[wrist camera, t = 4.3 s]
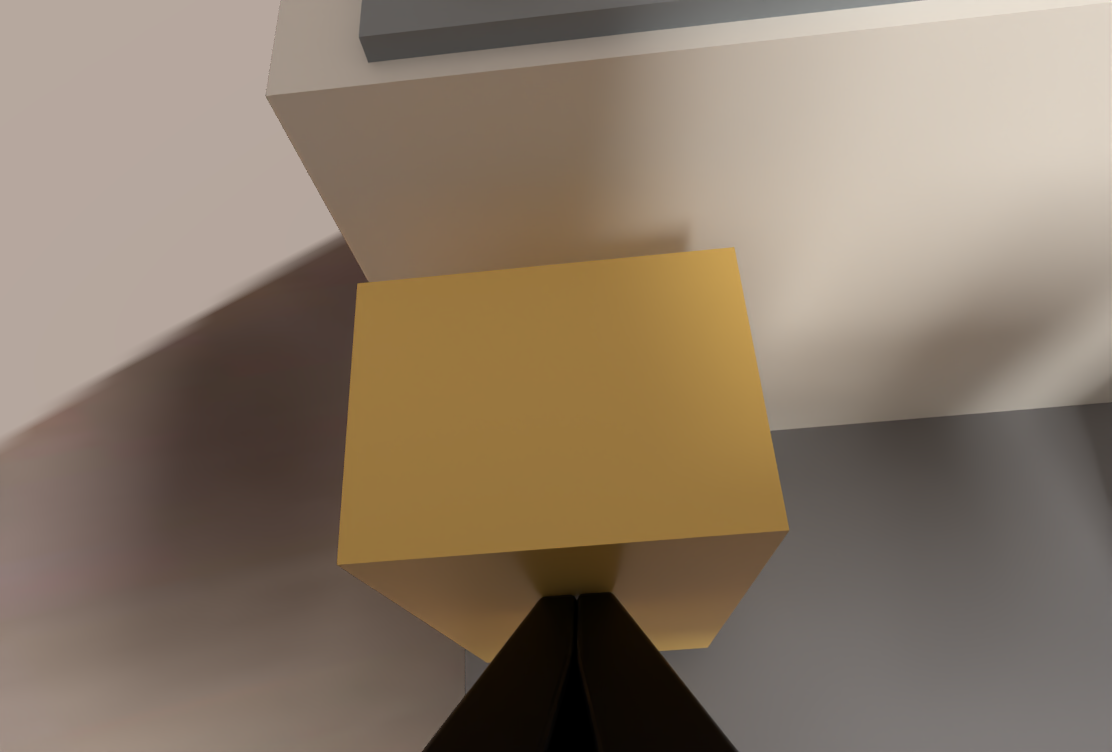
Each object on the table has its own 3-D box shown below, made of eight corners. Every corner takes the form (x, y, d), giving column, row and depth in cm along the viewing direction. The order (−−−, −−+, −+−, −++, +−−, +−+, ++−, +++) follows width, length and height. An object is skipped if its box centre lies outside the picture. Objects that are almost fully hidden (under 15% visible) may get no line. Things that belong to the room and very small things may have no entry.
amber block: (707, 647, 14) (789, 530, 7) (487, 662, 14) (337, 565, 7) (685, 487, 15) (733, 247, 8) (484, 503, 15) (357, 283, 8)
